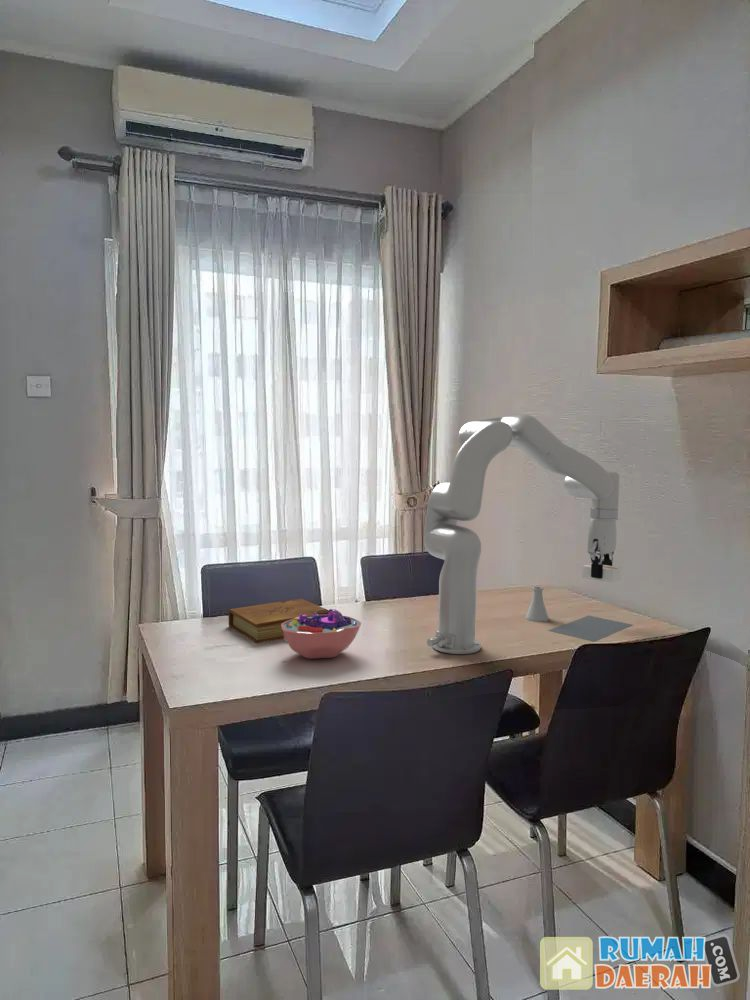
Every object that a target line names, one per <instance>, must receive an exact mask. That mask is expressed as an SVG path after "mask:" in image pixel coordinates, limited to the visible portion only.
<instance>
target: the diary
mask: <svg viewBox="0 0 750 1000" xmlns="http://www.w3.org/2000/svg"><path fill="white" fill-rule="evenodd" d="M329 610H330V609H327V608H324V607H322V606H320V605H318V604H315V603H313V602H311V601H308V600H305V599H303V598H295V599H290V600H282V601H281V600H280V601H276V602H275V601H274V602H269V603H263V604H256V605H255V604H253V605H249V606H244V607H242V606H241V607H236V608H234V607H233V608H229V609H228V612H227V615H228V627H229V628H230V629H232V630H234V631H235V632H237V633H239V634H240V635H241V636H243V637H246V638H247V639H248V640H251V641H252V643H253V642H254V643H255V644H261V643H267V642H271V641H278V640H283V639H284V637H283V633H282V627H281V624H282V623H284V622H286V621H288V620H291V619H293V618H296V617H299V616H300V614H302V616H303V615H309V614H328V612H329ZM284 640H285V639H284Z"/></svg>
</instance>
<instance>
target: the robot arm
mask: <svg viewBox="0 0 750 1000" xmlns="http://www.w3.org/2000/svg"><path fill="white" fill-rule="evenodd" d="M457 440H458V443H459V445H460V446H461V447H460V448H459V450H458V451H457V454H456V455H455V458H454V460H453V463H452V469H451V476H450V481H447V482H440V483H438V484H437V485H436V486H435V487H434V488H433V489H432V491H431V493H430V494H429V497H428V501H427V508H426V515H425V520H424V521H425V522H424V529H423V530H424V531H423V544H424V548H425V550H426V551H427V553H429V554H430V555H431V556H433V557H435V558H437V559H441V560H443V565H442V567H441V570H440V572H439V573H440V574H439V580H438V589H439V590H438V619H437V620H438V623H437V624H438V625H437V631H435V632H436V633H435V636H434V637H430V638H428V639H427V640H426V644H427V646H429V647H431V648H433V649H434V650H436V651H439V652H441V653H445V654H450V655H468V654H474V653H477V652H479V651H480V650H481V647H482V645H481V642H480V641H478V640H477V639H476V614H477V613H476V612H477V611H476V609H477V577H478V569H479V562H480V557H481V553H482V542H481V538H480V537H479V535H478V534H477V533H476V532H475V531H474V530H472V529H471V528H469V527H466V526H461V525H457V523H458V521H460V522H470V521H471V522H472V521H474V520H475V519H476V518H477V517H478V516H479V514H480V512H481V507H482V501H483V493H484V485H485V480H486V479H485V478H486V474H487V470H488V467H489V464H490V463H491V462H492V461H493V460H494V458H496V456H497V455H498V454H500V453H502V452H503V451H506V449H507V448H508V447H517V448H519V449H520V450H522V451H523V452H524V453H526V455H528V457H530V458H531V459H532V460H533V461H534V462H536V463H537V464H538V465H539V466H540V467H541V468H543V469H545V470H547V471H549V472H552V473H555V474H557V475H562V476H564V477H565V478H564V480H563V487H564V490H565V491H566V493H568V494H569V495H570V496H572V497H576V498H582V499H583V498H584V499H590V511H589V512H590V515H589V519H590V520H589V521H590V522H589V526H588V535H587V543H586V545H587V546H586V551H587V553H588V554H589V556H590V563H591V577H593V578H599V579H601V578H602V577H603V565H609V566H613V561H614V553H615V551H616V547H617V521H618V519H619V518H618V517H619V499H620V498H619V496H620V475H619V473H618V472H617V471H609V470H606V469H604V467H603V466H602V465H600V464H599V463H598V462H596V460H594V459H592V458H591V457H589V456H587V455H586V454H584V453H582V452H580V451H578V450H576V449H574V448H572V447H570V446H568V445H567V444H565V443H564V442H563V441H562V440H560V439H559V438H558V437H557V436H556V435H555V434H553V432H552V431H551V430H549V429H548V428H547V427H546V426H545V425H544V424H543V423H542V422H540V421H539V419H537V418H536V417H534V416H532V415H529V414H519V415H518V414H516V415H515V414H513V415H512V414H511V415H502V416H498V417H491V418H486V419H479V420H472V421H468V422H467V423H465V424H464V425H463V426H461V428H460V430H459V432H458V439H457ZM601 564H602V565H601Z"/></svg>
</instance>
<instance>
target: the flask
mask: <svg viewBox="0 0 750 1000" xmlns="http://www.w3.org/2000/svg"><path fill="white" fill-rule="evenodd" d="M532 590H533V594H532V598H531V601H530V604H529V607H528V609H527V612H526V615H525V617H524V619H525V620H527V621H529V622H537V623H540V622H543V623H544V622H548V621H549V619H550V618H549V615H548V612H547V609H546V605H545V602H544V596H543V590H544V587H542V586H532Z"/></svg>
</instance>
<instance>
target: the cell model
mask: <svg viewBox="0 0 750 1000" xmlns="http://www.w3.org/2000/svg"><path fill="white" fill-rule="evenodd" d="M328 610H329V612H328V614H309V615H303V616H302V614H300V616H299V617H296V618H293V619H291V620H288V621H286V622H284V623H282V624H281V627H282V633H283V637H284V641H285V642H286V643H287V644H288V646H289V648H290V649H291V650H292V651H293V652H294V653H296V654H297V655H300V656H302V657H304V658H306V659H313V660H315V659H330V658H335V657H337V656H338V655H340V654H341V653H342V652H344V651H346V650H347V649H348V648H349V647H350V645H352V642H353V641H354V640H355V639H356V637H357V635H358V633H359V631H360V628H361V626H362V622H361V621H359V620H358V619H356V618H354V617H350V616H346V615H343V614H342V612H340V611H339V610H337V609H334V608H330V609H328Z"/></svg>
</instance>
